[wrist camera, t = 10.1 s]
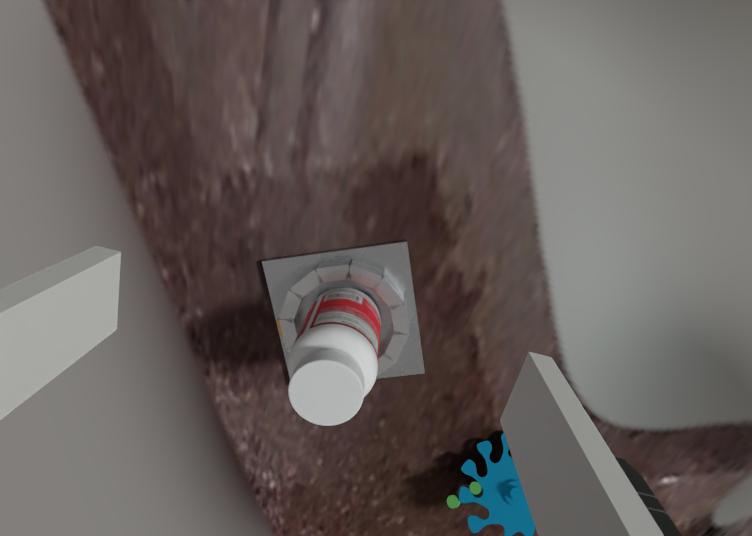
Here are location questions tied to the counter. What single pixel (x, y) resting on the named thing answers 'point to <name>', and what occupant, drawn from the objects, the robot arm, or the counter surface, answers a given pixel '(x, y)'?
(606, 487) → the robot arm
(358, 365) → the pill bottle
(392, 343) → the duct flange
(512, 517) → the blue knobbed piece
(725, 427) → the counter surface
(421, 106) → the counter surface
